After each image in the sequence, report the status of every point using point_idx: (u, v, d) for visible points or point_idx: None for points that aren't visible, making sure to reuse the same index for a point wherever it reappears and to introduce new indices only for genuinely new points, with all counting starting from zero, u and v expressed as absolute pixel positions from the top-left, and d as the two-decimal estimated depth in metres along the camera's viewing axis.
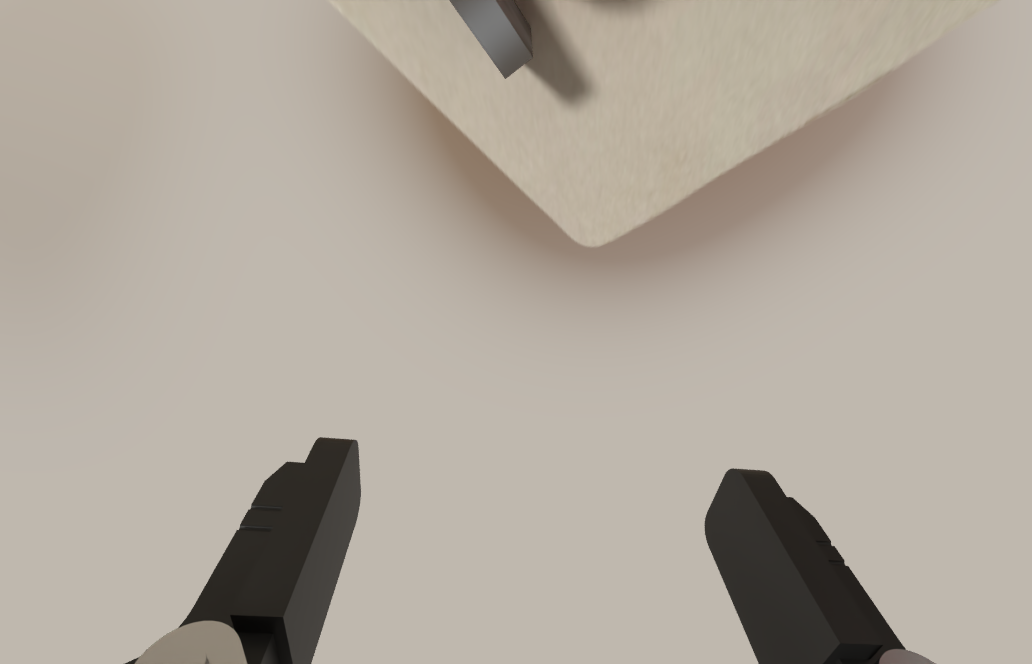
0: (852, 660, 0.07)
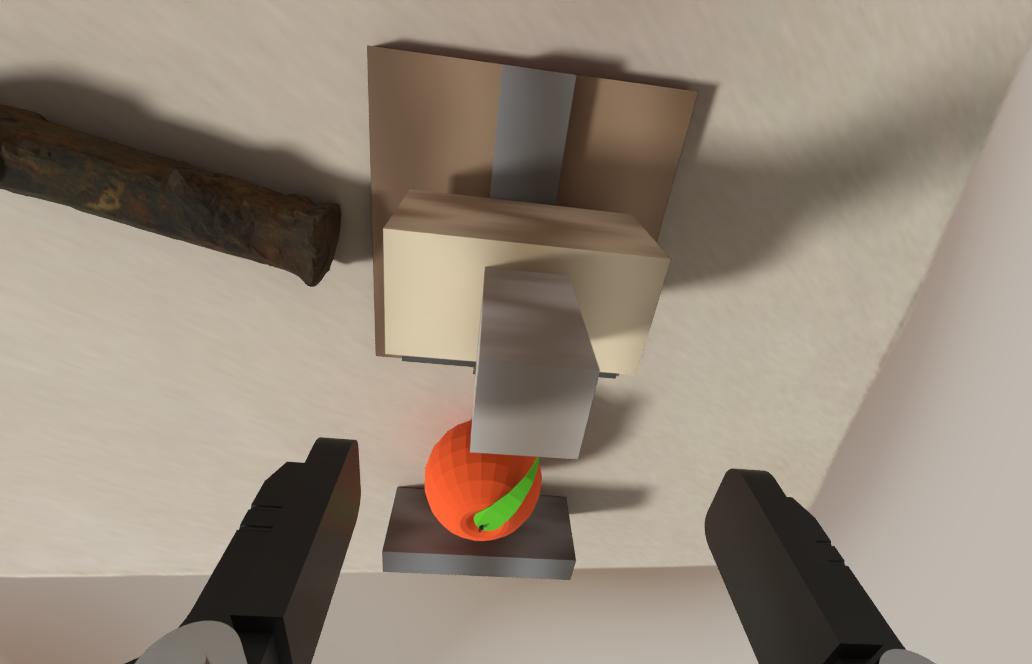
0: (852, 660, 0.07)
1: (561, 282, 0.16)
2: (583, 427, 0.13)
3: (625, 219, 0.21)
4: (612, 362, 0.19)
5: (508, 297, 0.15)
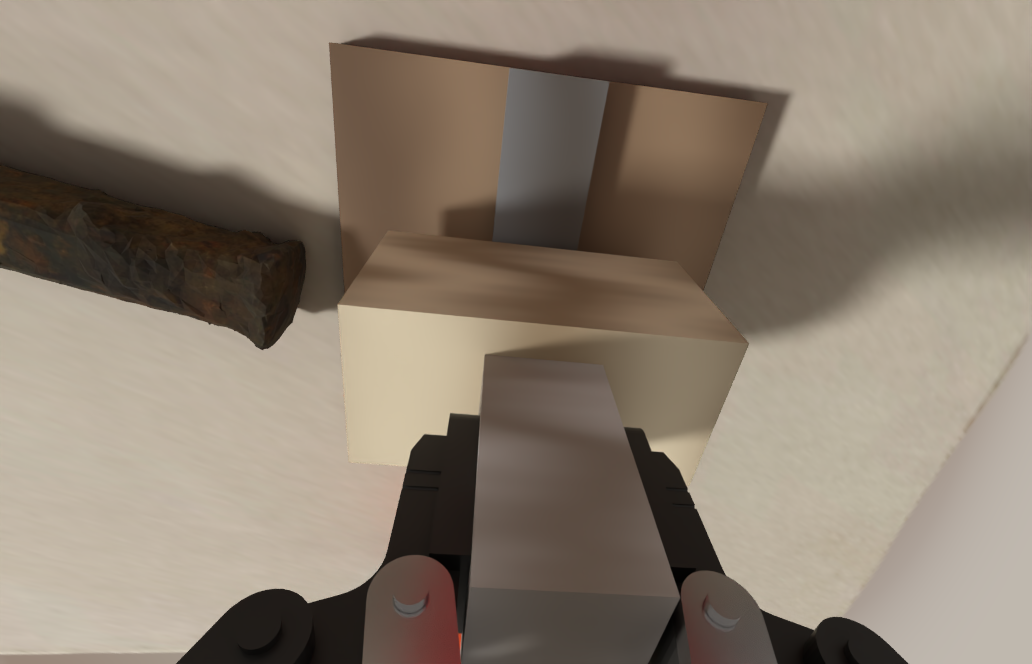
0: None
1: (594, 380, 0.11)
2: None
3: (670, 270, 0.16)
4: None
5: (519, 417, 0.10)
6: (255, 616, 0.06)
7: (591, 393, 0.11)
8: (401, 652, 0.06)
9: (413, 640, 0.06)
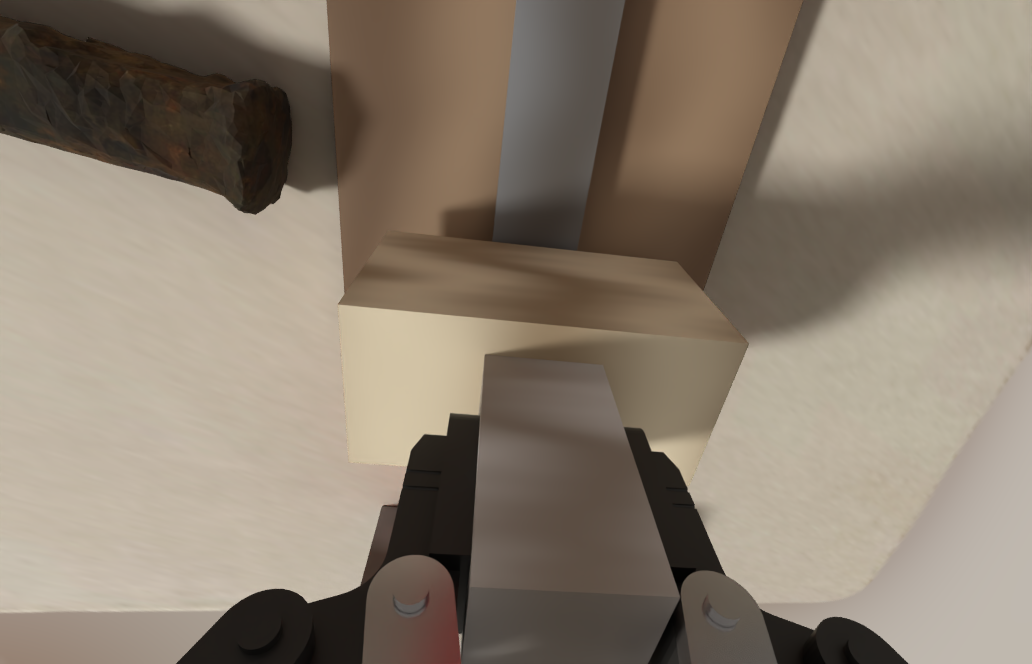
0: None
1: (594, 380, 0.11)
2: None
3: (670, 270, 0.16)
4: None
5: (519, 417, 0.10)
6: (256, 616, 0.06)
7: (591, 393, 0.11)
8: (401, 652, 0.06)
9: (413, 640, 0.06)
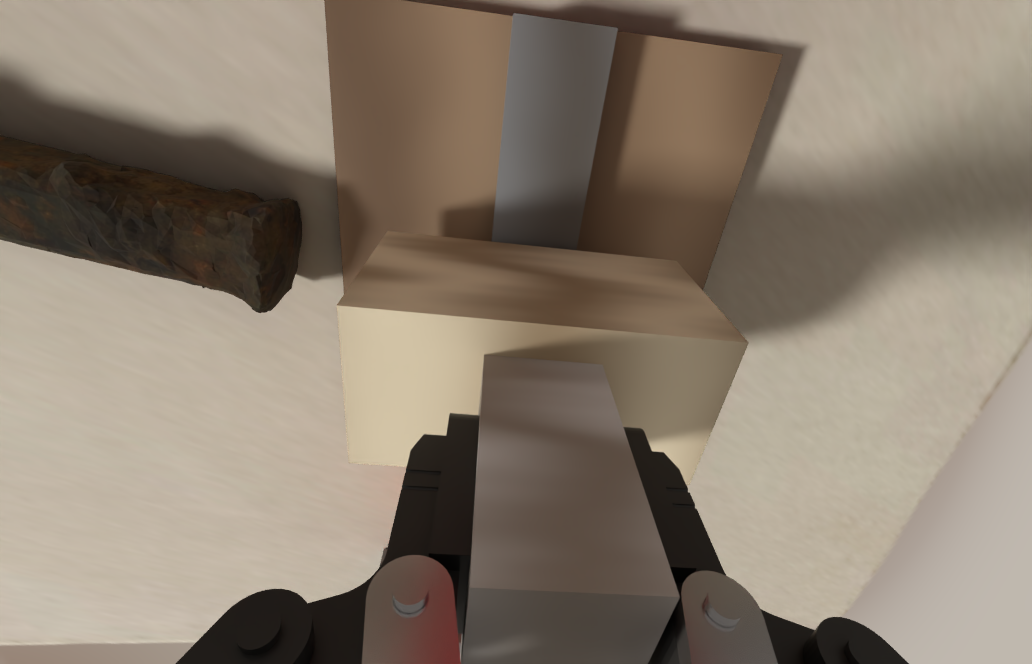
0: None
1: (593, 379, 0.11)
2: None
3: (670, 270, 0.16)
4: None
5: (518, 417, 0.10)
6: (255, 615, 0.06)
7: (591, 393, 0.11)
8: (400, 652, 0.06)
9: (413, 640, 0.06)
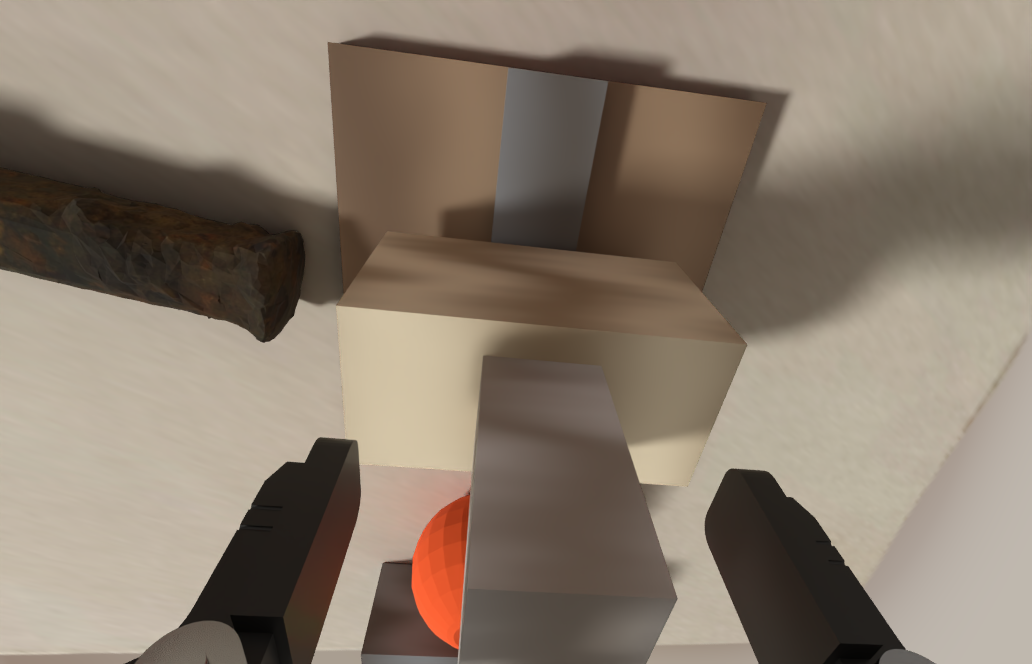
0: (852, 660, 0.07)
1: (592, 381, 0.11)
2: None
3: (669, 271, 0.16)
4: (656, 472, 0.14)
5: (517, 418, 0.10)
6: None
7: (589, 394, 0.11)
8: None
9: None
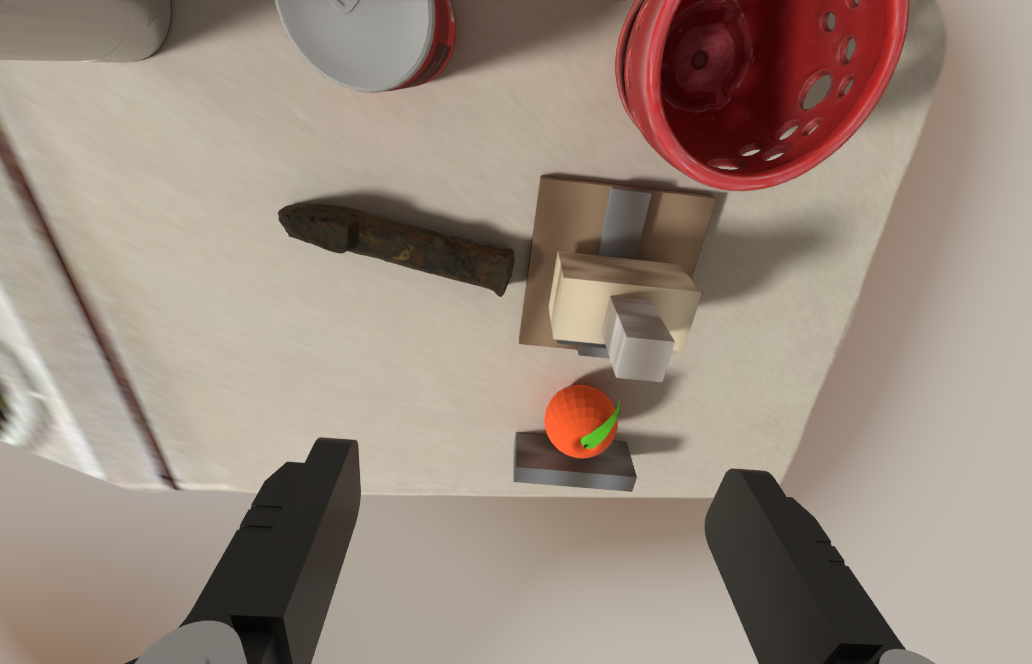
0: (852, 660, 0.07)
1: (648, 303, 0.34)
2: (666, 367, 0.30)
3: (675, 268, 0.38)
4: None
5: (627, 311, 0.32)
6: None
7: (648, 307, 0.33)
8: None
9: None
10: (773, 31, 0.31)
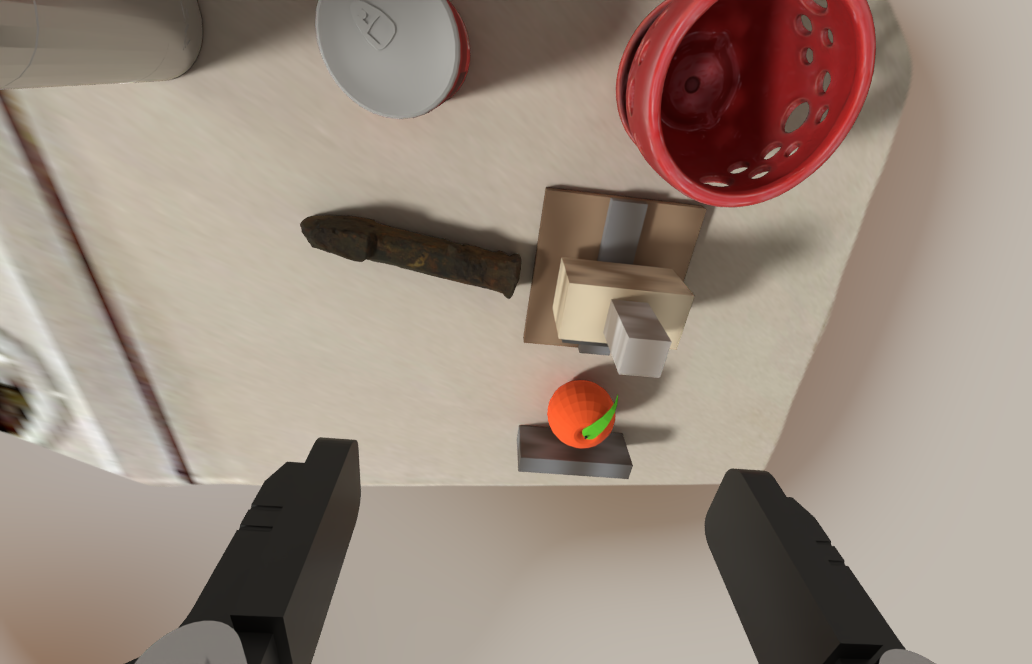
0: (852, 660, 0.07)
1: (646, 306, 0.37)
2: (663, 364, 0.33)
3: (669, 272, 0.41)
4: None
5: (627, 313, 0.35)
6: None
7: (646, 309, 0.36)
8: None
9: None
10: (758, 60, 0.34)
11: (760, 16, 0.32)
